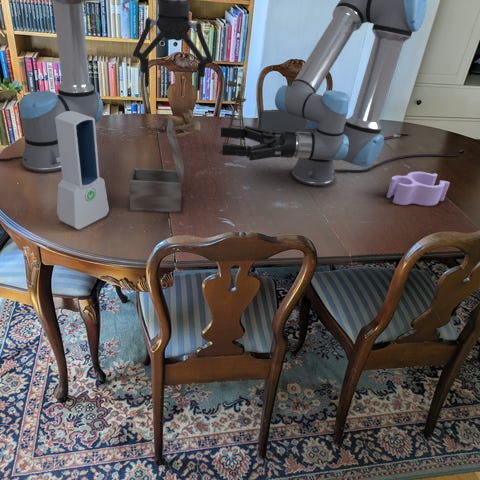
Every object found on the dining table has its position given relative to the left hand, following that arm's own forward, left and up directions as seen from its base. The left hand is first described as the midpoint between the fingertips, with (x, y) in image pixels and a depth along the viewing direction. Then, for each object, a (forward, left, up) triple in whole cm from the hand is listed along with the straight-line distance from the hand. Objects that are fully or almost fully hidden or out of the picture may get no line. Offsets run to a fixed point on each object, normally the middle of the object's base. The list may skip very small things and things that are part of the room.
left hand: (172, 87), depth 125 cm
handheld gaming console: (+31, +78, -36) cm, 91 cm away
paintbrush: (+80, +88, -36) cm, 124 cm away
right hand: (+14, +3, -14) cm, 20 cm away
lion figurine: (-13, +63, -36) cm, 74 cm away
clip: (+80, +29, -36) cm, 92 cm away
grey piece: (0, 0, -18) cm, 18 cm away
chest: (-4, -1, -36) cm, 36 cm away
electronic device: (-21, -15, -36) cm, 44 cm away
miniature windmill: (+13, +50, -36) cm, 63 cm away
